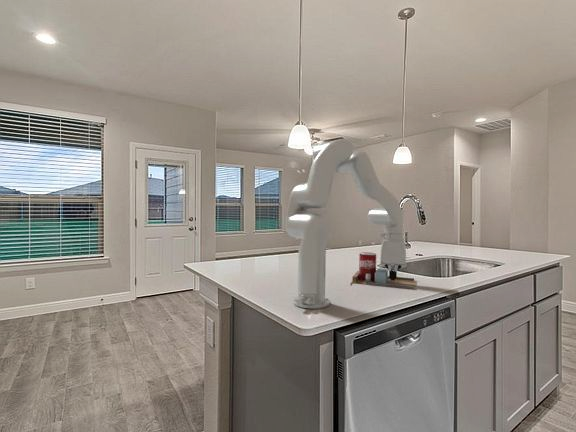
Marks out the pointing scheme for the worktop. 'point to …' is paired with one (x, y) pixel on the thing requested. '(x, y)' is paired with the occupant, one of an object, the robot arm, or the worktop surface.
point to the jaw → (381, 275)
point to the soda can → (367, 265)
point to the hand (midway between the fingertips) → (392, 279)
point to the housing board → (398, 283)
